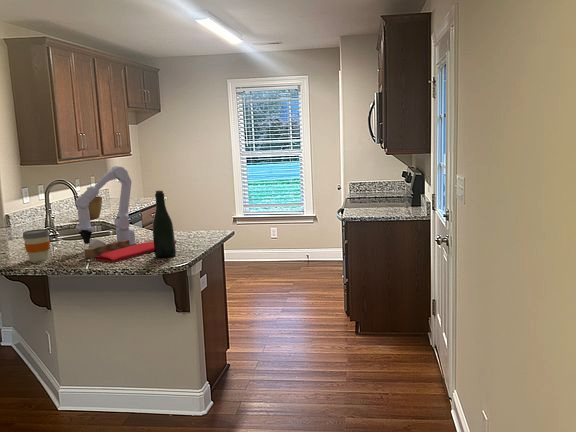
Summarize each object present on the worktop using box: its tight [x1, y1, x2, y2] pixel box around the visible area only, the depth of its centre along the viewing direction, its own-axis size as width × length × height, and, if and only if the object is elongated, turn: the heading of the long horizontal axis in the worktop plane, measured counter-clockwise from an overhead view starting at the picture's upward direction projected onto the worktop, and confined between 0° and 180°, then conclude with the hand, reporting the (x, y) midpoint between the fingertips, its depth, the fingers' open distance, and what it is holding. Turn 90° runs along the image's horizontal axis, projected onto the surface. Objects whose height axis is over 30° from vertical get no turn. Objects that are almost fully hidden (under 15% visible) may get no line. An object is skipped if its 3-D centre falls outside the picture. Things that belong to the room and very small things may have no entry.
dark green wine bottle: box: [152, 189, 177, 259], centre depth 276 cm, size 10×10×33 cm
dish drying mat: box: [94, 239, 177, 263], centre depth 292 cm, size 16×41×4 cm, turn 142°
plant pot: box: [88, 195, 103, 220], centre depth 424 cm, size 15×15×16 cm
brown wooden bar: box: [84, 240, 131, 260], centre depth 294 cm, size 26×3×4 cm, turn 144°
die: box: [87, 237, 107, 249], centre depth 297 cm, size 8×9×10 cm
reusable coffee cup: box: [22, 228, 51, 263], centre depth 287 cm, size 13×12×15 cm
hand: (87, 243), depth 303 cm, fingers closed
